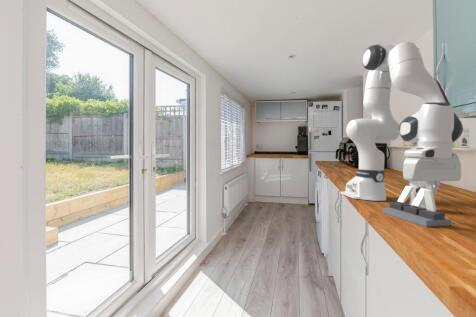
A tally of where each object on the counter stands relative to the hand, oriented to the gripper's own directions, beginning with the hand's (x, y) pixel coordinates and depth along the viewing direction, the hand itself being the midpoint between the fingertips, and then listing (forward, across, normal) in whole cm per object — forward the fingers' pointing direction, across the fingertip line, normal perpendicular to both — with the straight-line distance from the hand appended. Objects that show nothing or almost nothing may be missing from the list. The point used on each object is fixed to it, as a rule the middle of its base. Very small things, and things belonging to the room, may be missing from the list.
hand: (431, 194), depth 81 cm
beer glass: (+10, -16, -18) cm, 26 cm away
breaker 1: (+6, -1, -12) cm, 13 cm away
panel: (+10, -1, -6) cm, 11 cm away
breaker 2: (+6, -1, -6) cm, 8 cm away
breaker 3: (+6, -1, 0) cm, 6 cm away
